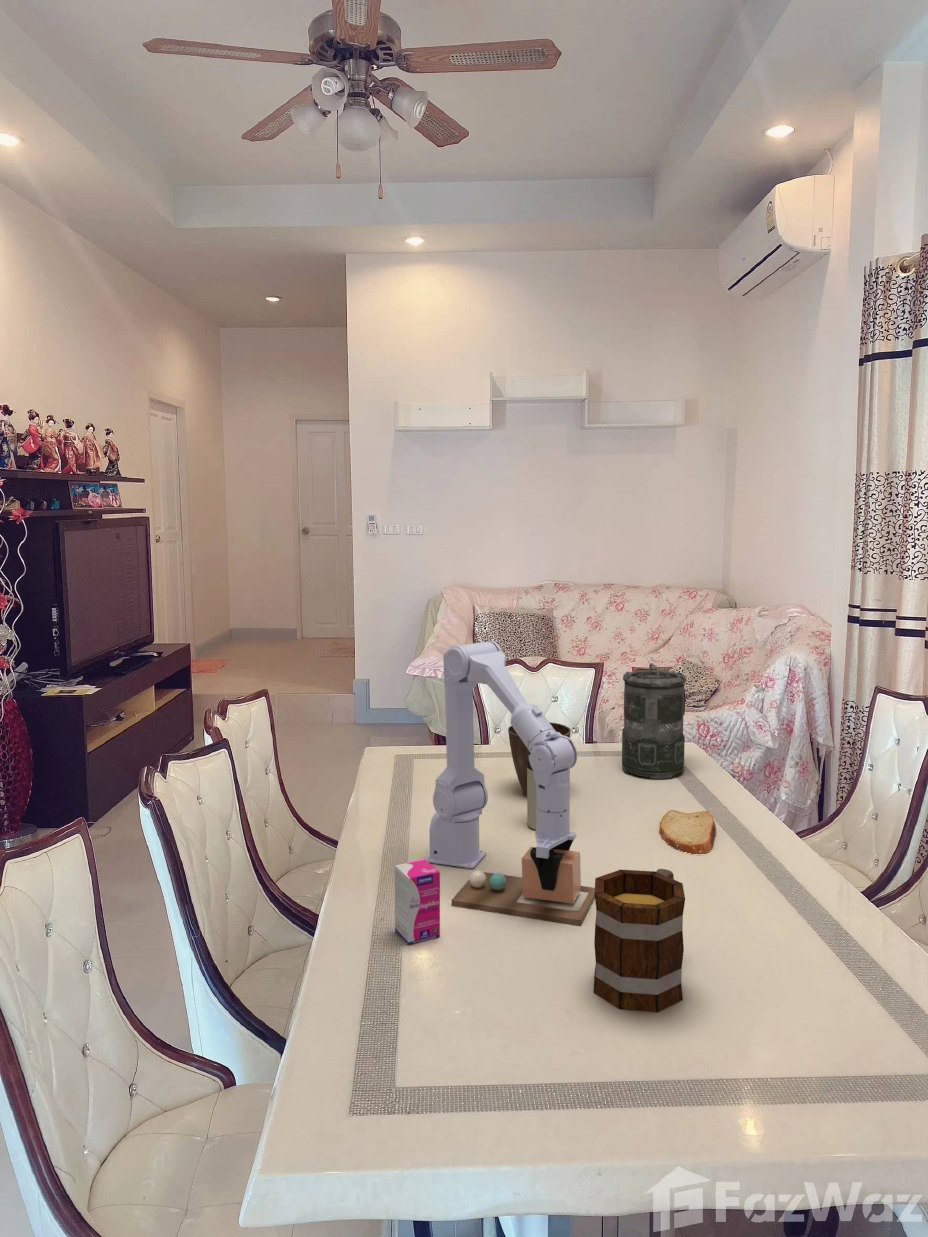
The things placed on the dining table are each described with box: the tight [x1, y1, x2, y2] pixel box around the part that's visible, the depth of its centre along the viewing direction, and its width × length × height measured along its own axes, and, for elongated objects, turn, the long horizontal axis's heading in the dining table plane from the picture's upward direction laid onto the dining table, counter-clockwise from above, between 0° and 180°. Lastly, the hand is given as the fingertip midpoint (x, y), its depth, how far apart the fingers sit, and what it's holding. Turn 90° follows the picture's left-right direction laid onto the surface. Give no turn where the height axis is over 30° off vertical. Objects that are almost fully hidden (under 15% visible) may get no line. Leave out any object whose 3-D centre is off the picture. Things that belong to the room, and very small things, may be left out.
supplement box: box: [394, 859, 441, 945], centre depth 144 cm, size 6×6×12 cm
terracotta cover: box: [521, 846, 582, 903], centre depth 155 cm, size 9×6×7 cm, turn 70°
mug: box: [593, 868, 686, 1014], centre depth 130 cm, size 20×14×15 cm
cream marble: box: [469, 870, 486, 888], centre depth 160 cm, size 3×3×3 cm
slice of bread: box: [658, 809, 717, 855], centre depth 187 cm, size 18×18×4 cm
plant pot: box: [507, 721, 572, 797], centre depth 213 cm, size 15×15×16 cm
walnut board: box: [451, 871, 595, 927], centre depth 157 cm, size 23×13×1 cm, turn 70°
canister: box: [621, 662, 687, 780], centre depth 229 cm, size 16×16×28 cm
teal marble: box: [490, 872, 506, 891], centre depth 159 cm, size 3×3×3 cm
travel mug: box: [526, 753, 537, 831], centre depth 192 cm, size 8×8×18 cm
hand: (552, 882), depth 155 cm, fingers closed on terracotta cover, 5 cm apart
